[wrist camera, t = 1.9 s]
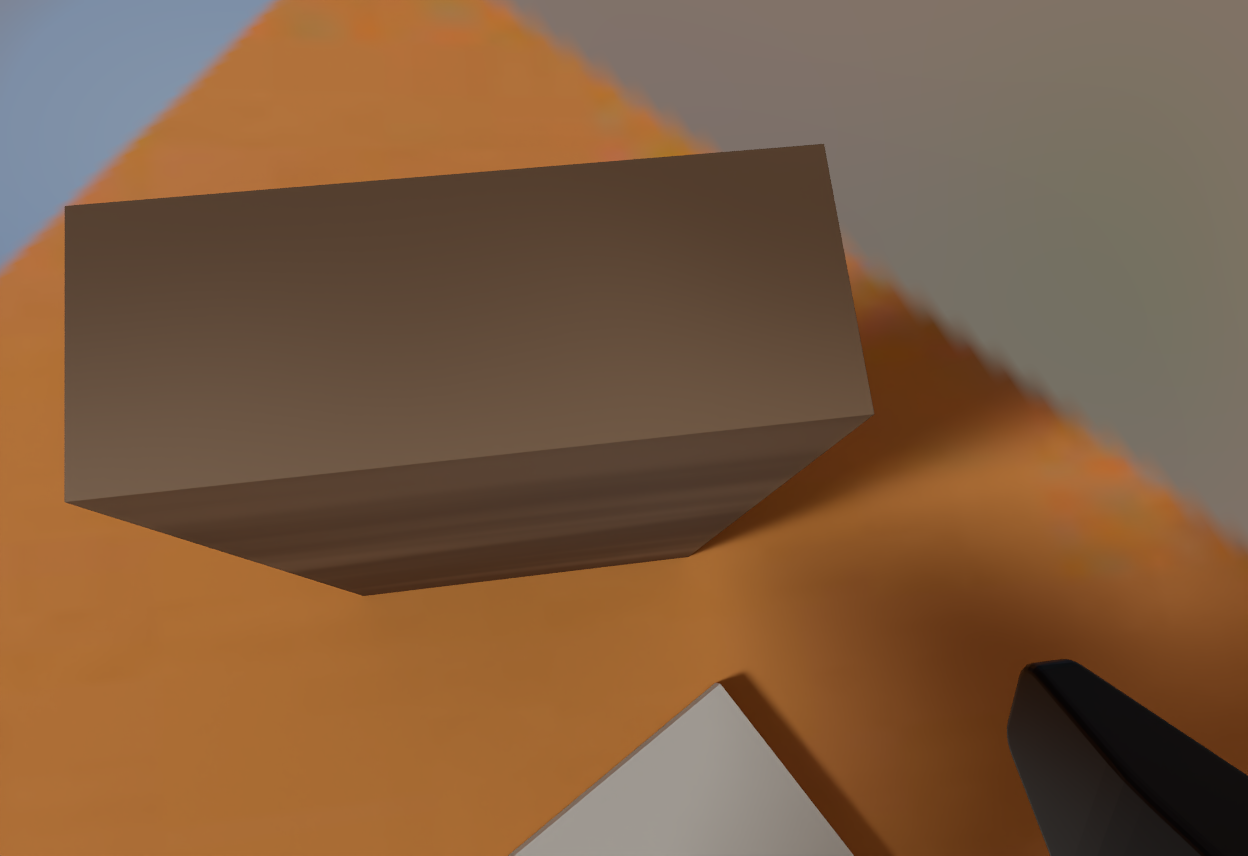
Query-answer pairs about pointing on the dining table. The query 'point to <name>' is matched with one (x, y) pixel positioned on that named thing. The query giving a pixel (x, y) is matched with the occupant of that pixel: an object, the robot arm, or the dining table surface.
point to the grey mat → (693, 797)
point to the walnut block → (461, 364)
